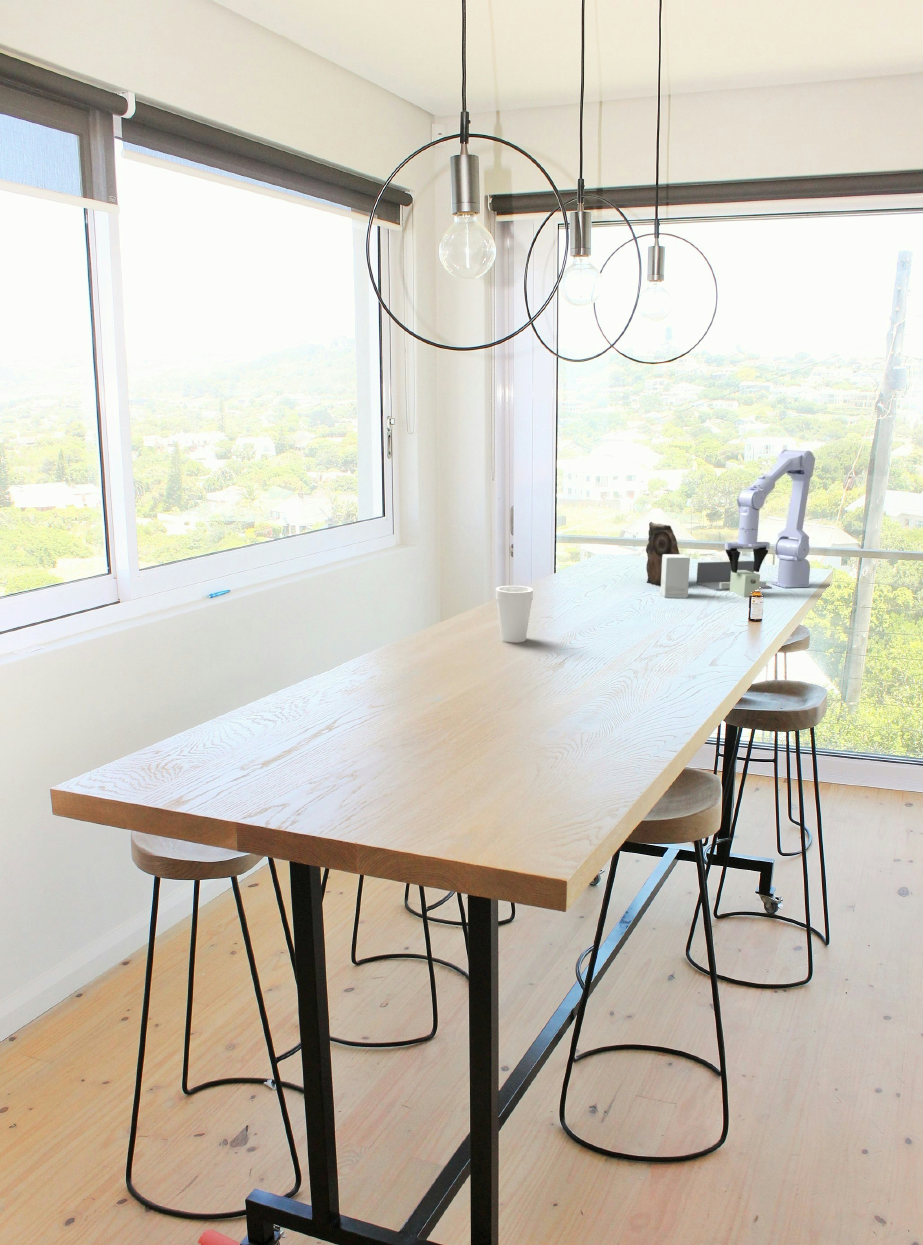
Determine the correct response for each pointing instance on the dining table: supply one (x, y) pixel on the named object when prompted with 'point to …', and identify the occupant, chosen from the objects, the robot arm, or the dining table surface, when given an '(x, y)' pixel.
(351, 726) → the dining table surface
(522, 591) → the foam cup
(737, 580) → the cabinet block
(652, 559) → the owl
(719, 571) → the grey piece
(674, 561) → the supplement box
